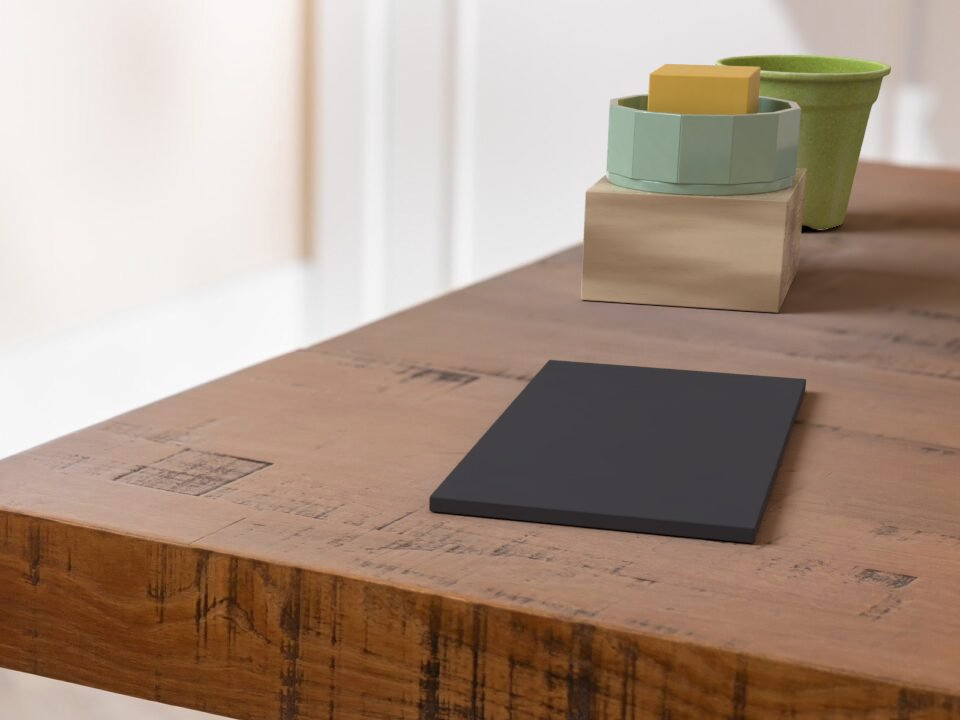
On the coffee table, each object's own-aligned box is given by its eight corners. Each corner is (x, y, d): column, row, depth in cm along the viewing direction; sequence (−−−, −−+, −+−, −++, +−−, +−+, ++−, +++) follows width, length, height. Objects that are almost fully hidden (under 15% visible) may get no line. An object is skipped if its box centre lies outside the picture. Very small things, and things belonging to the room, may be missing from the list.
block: (658, 160, 90) (664, 63, 88) (753, 164, 88) (761, 66, 87) (643, 174, 86) (649, 73, 84) (742, 179, 84) (750, 76, 83)
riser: (618, 259, 95) (623, 159, 93) (798, 269, 93) (807, 167, 91) (580, 300, 86) (585, 190, 84) (778, 313, 84) (787, 200, 82)
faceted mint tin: (661, 161, 93) (666, 88, 92) (823, 177, 88) (830, 101, 87) (571, 183, 86) (574, 105, 85) (740, 202, 82) (746, 120, 80)
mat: (548, 371, 74) (548, 359, 74) (805, 391, 71) (806, 378, 71) (428, 511, 58) (429, 496, 58) (753, 544, 55) (754, 528, 55)
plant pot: (903, 220, 105) (920, 61, 102) (827, 245, 99) (843, 75, 95) (754, 202, 111) (766, 51, 108) (673, 224, 104) (683, 63, 101)
